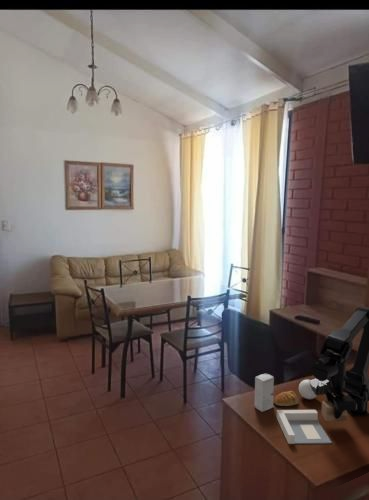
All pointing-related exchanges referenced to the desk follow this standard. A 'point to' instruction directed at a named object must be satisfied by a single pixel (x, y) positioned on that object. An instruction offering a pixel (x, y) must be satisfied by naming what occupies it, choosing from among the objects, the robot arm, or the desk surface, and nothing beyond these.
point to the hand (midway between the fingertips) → (334, 414)
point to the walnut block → (331, 412)
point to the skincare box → (264, 392)
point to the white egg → (306, 390)
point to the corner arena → (302, 427)
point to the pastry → (286, 399)
